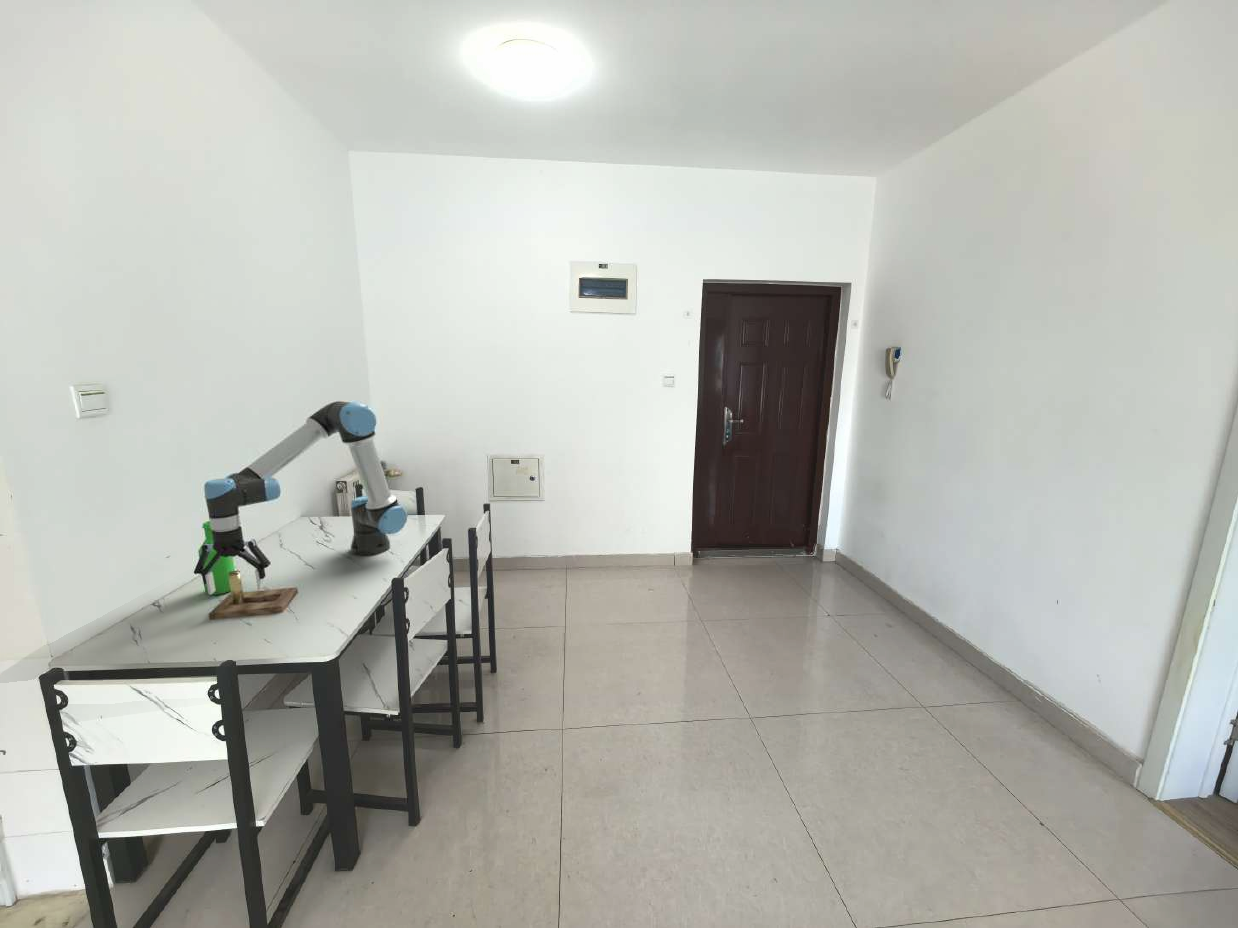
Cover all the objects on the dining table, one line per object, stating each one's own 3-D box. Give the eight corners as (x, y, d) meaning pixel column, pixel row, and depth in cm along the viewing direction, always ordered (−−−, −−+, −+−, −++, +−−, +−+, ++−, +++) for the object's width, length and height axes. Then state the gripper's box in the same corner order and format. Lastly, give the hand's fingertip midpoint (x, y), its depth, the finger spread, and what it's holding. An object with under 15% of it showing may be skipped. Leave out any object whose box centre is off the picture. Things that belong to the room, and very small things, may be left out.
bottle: (202, 598, 170) (190, 527, 164) (208, 587, 177) (197, 520, 172) (234, 593, 174) (223, 524, 168) (239, 583, 181) (229, 516, 176)
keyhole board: (297, 592, 174) (297, 587, 174) (282, 611, 161) (282, 606, 161) (230, 598, 169) (229, 593, 169) (209, 619, 156) (208, 613, 156)
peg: (247, 604, 166) (242, 570, 163) (241, 608, 163) (236, 574, 161) (237, 604, 165) (231, 570, 163) (231, 609, 163) (226, 574, 160)
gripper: (276, 521, 165) (284, 581, 170) (186, 527, 159) (197, 589, 163) (266, 528, 158) (276, 590, 163) (172, 535, 152) (184, 600, 156)
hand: (236, 590), depth 163 cm, fingers open, 13 cm apart
